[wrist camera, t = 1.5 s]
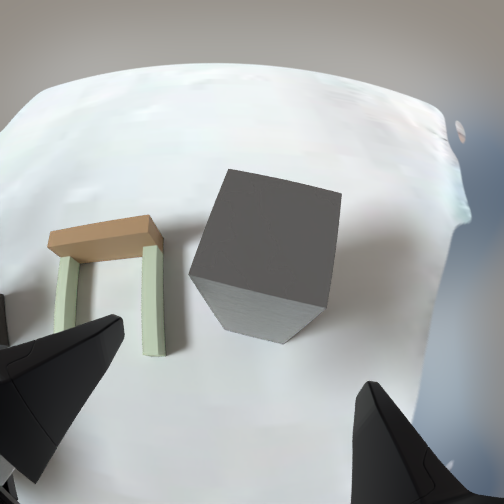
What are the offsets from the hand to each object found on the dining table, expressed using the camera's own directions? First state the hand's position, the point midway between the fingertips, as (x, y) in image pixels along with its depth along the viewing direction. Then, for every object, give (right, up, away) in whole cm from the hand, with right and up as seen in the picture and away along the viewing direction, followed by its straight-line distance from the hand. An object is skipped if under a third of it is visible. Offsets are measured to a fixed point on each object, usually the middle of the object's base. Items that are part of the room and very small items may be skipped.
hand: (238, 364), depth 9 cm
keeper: (-12, -1, +12) cm, 17 cm away
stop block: (+1, -1, +12) cm, 12 cm away
